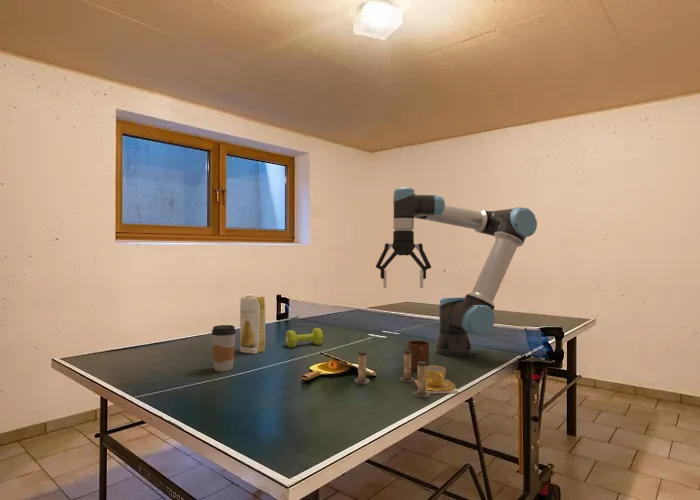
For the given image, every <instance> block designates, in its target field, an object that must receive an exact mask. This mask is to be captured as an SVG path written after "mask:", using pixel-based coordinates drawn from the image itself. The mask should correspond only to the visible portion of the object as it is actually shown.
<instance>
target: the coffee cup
mask: <svg viewBox="0 0 700 500" xmlns="http://www.w3.org/2000/svg"><path fill="white" fill-rule="evenodd" d="M236 330H237V329H236V328H235V326H234V325H232V324H230V325H229V324H223V325H222V324H221V325H215V326H213V327H212V329H211V335H212V336H211V338H212V339H211V340H212V356H213V357H212V359H213V368H214V370H215V372H220V373H221V372H229V371H232V370H233V368H234V357H235V347H236V346H235V345H236V344H235V343H236V342H235V341H236V333H237V331H236Z"/></svg>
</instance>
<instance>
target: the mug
mask: <svg viewBox="0 0 700 500" xmlns="http://www.w3.org/2000/svg"><path fill="white" fill-rule="evenodd" d="M407 344H408V345H407V350H411V351H412V353H411V371H415V372H418V365H417V362H419V361H423V362H426V366H430V343H429V341H424V340H410V341H408V342H407Z"/></svg>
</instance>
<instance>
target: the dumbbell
mask: <svg viewBox="0 0 700 500" xmlns="http://www.w3.org/2000/svg"><path fill="white" fill-rule="evenodd" d="M285 333H286V334H285V339H284V340H285V344H286V346H287V347H288V349H289V348H290V349H291V348H292V349H293V348H295V347H296V346H297V343H300V342H308V341H312V343H313V344H314V345H315V346H321V345H322V344H323V341H324V333H323V330H322V329H321V328H319V327H315V328H313V329H312V332H311V333H305V334H297V333H296V331H295V330H291V329H290V330H289V329H288V330H287V331H286V332H285Z"/></svg>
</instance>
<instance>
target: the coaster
mask: <svg viewBox="0 0 700 500" xmlns="http://www.w3.org/2000/svg"><path fill="white" fill-rule="evenodd" d="M417 380H418V379H415V381H414V383H415V384H416V382H417ZM446 380H447V381H450V379H446ZM426 392H429V393H430V394H459V390H458V389H457V388H456V386H455V387H454V388H453V389H450V390H445V391H434V390H427V389H426Z"/></svg>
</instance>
